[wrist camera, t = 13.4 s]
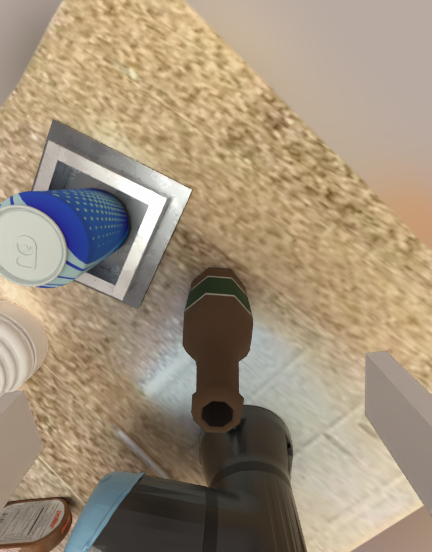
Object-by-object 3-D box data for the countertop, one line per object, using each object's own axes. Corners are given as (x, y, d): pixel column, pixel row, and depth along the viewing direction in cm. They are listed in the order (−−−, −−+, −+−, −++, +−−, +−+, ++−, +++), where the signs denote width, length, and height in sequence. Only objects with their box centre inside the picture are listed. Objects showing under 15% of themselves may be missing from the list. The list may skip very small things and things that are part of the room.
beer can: (52, 216, 39) (-54, 239, 24) (99, 173, 38) (17, 168, 22) (99, 266, 41) (28, 316, 26) (145, 227, 39) (99, 255, 24)
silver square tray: (139, 306, 44) (131, 319, 40) (17, 251, 42) (-7, 259, 37) (192, 189, 39) (189, 190, 35) (57, 120, 37) (35, 112, 32)
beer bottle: (182, 274, 42) (140, 383, 19) (235, 257, 42) (258, 350, 19) (200, 323, 45) (182, 472, 22) (251, 307, 44) (288, 446, 21)
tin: (1, 512, 56) (-35, 567, 48) (-5, 499, 55) (-43, 553, 47) (81, 505, 56) (57, 559, 48) (76, 492, 55) (52, 545, 47)
